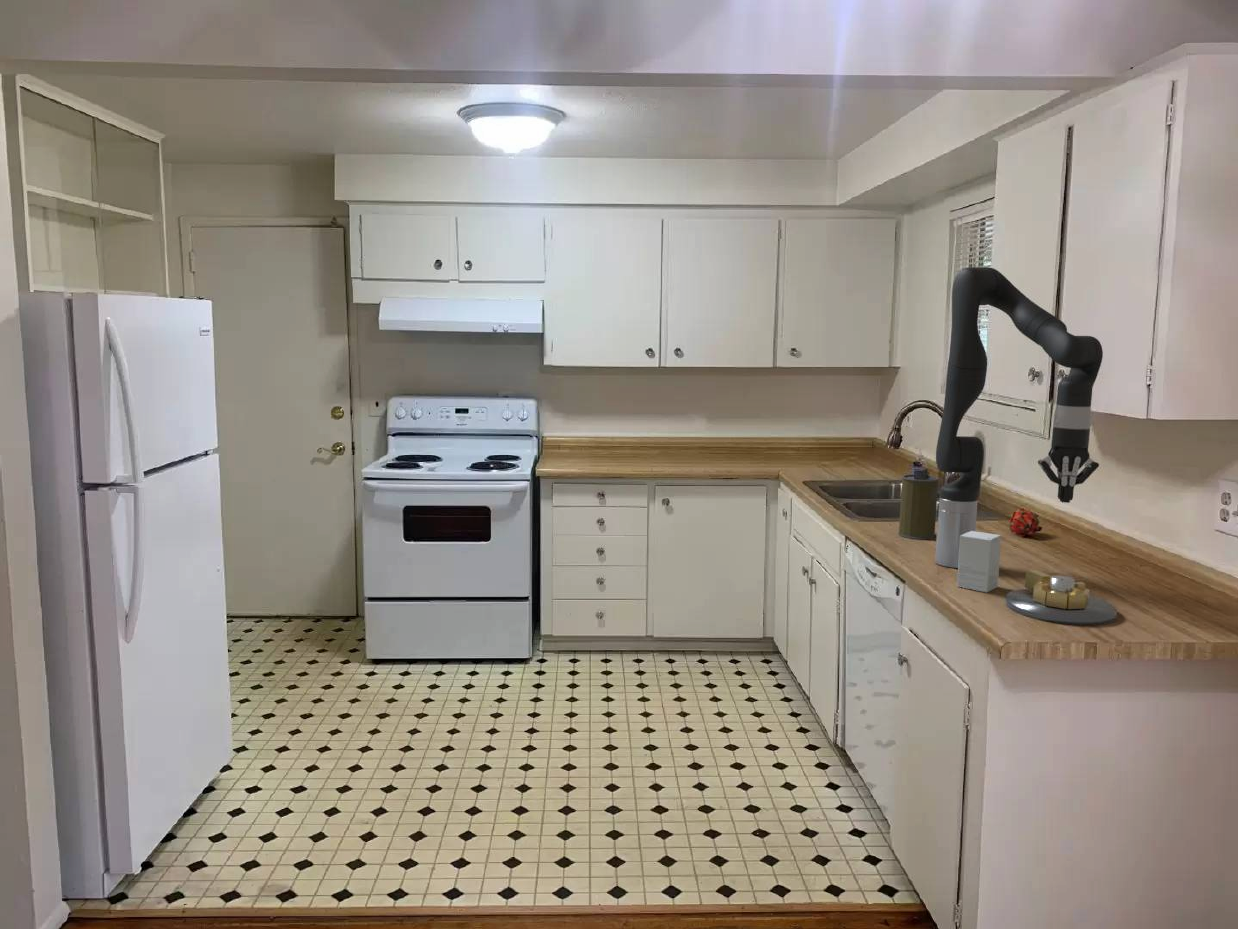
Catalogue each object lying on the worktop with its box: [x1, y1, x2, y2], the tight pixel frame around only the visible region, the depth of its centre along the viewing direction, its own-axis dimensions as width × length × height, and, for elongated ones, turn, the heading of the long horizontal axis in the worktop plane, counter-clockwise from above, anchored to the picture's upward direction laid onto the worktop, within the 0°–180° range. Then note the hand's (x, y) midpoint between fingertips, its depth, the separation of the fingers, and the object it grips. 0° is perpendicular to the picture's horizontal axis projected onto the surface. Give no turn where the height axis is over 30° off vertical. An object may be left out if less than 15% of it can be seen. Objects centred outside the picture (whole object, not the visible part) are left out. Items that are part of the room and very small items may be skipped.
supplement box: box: [956, 530, 1002, 593], centre depth 221 cm, size 7×7×13 cm
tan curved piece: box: [1024, 568, 1091, 609], centre depth 207 cm, size 16×11×4 cm, turn 11°
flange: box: [1005, 575, 1118, 626], centre depth 204 cm, size 22×22×7 cm
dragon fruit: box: [1008, 508, 1043, 538], centre depth 278 cm, size 8×8×12 cm
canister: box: [897, 467, 940, 540], centre depth 274 cm, size 11×10×20 cm
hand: (1064, 501), depth 212 cm, fingers closed
